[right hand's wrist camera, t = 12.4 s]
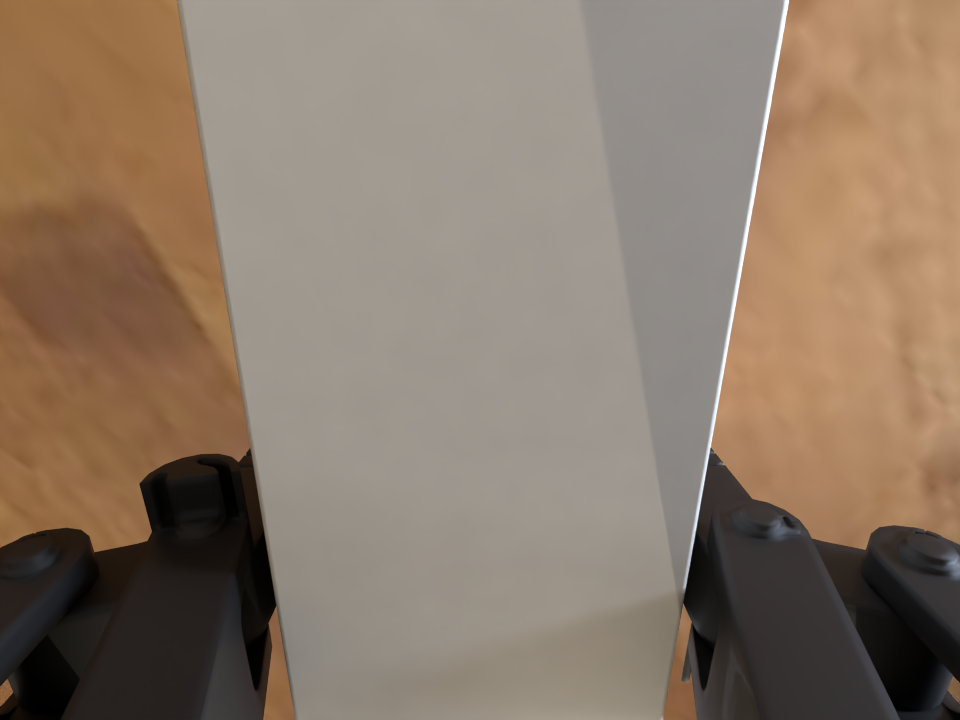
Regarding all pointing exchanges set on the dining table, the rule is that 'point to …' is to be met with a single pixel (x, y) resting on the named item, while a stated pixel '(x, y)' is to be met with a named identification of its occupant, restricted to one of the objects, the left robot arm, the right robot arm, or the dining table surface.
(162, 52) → the dining table surface
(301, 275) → the bar
